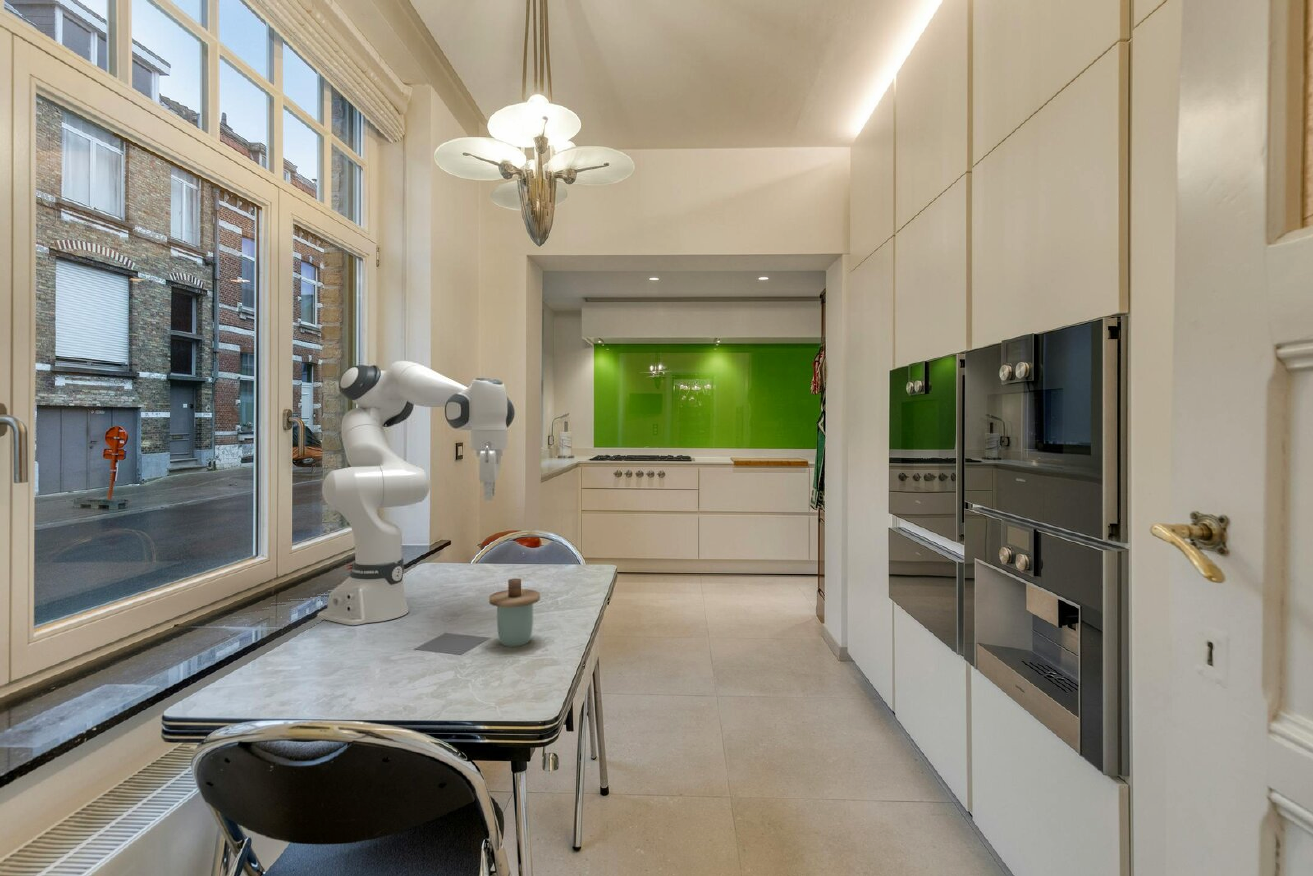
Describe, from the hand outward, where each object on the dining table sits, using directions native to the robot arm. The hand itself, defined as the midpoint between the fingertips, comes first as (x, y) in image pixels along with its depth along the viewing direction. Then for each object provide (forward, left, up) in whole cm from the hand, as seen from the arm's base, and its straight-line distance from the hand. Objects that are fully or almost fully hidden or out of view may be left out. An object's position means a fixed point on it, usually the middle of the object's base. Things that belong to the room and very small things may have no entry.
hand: (489, 498), depth 147 cm
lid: (+14, -12, -21) cm, 28 cm away
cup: (+14, -12, -31) cm, 36 cm away
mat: (+1, -16, -31) cm, 35 cm away
